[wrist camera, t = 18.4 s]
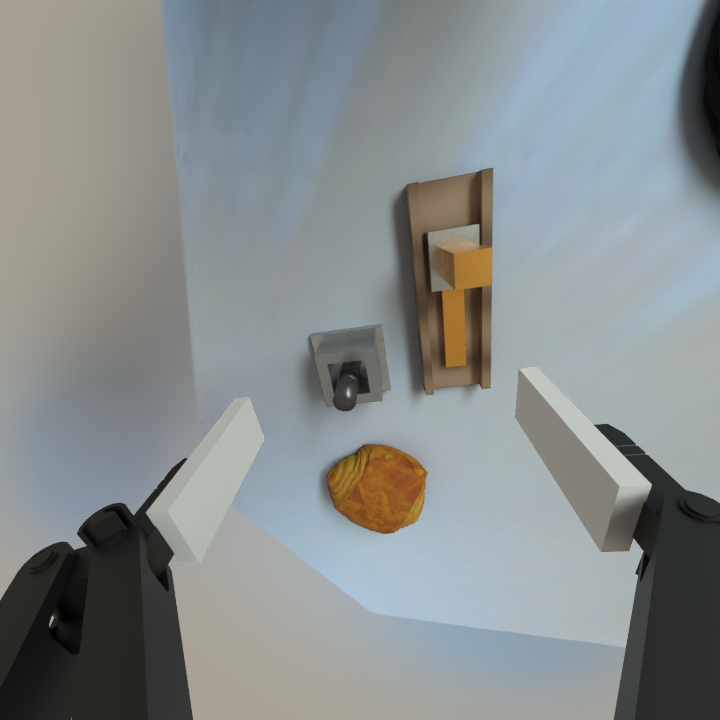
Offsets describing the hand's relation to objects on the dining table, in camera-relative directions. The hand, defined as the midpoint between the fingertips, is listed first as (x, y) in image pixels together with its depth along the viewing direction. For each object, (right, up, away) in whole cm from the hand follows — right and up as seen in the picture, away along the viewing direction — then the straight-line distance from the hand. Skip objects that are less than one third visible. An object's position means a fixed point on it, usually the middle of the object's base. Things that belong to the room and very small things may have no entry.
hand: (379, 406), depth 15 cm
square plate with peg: (-2, +2, +26) cm, 26 cm away
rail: (+10, +10, +21) cm, 25 cm away
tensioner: (+10, +9, +20) cm, 24 cm away
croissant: (+2, -16, +34) cm, 38 cm away
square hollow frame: (-2, +2, +25) cm, 25 cm away
